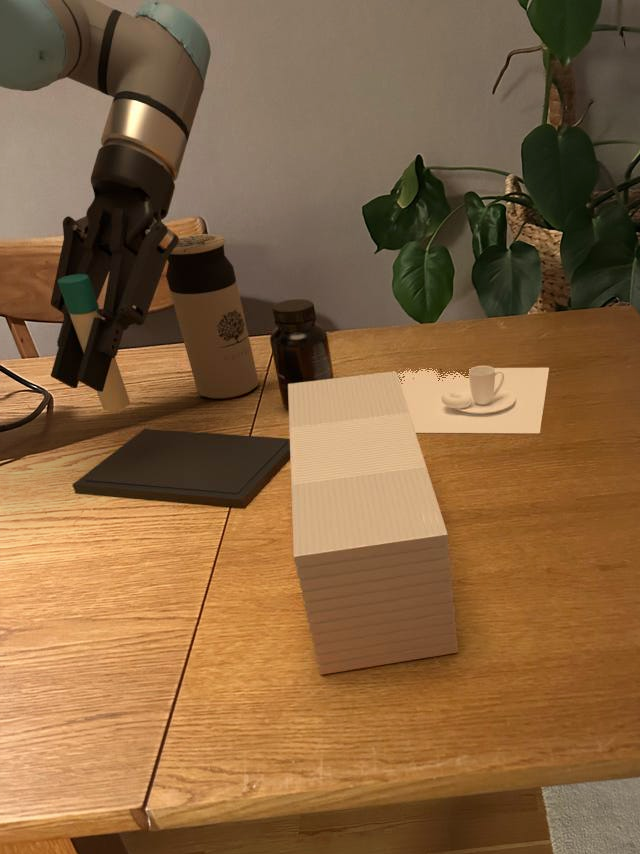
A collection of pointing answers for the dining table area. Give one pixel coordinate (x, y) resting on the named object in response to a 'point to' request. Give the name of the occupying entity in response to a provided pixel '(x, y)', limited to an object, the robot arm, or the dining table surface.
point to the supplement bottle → (299, 345)
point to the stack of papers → (366, 526)
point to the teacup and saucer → (476, 400)
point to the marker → (82, 315)
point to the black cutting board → (188, 468)
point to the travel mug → (211, 317)
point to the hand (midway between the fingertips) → (76, 383)
